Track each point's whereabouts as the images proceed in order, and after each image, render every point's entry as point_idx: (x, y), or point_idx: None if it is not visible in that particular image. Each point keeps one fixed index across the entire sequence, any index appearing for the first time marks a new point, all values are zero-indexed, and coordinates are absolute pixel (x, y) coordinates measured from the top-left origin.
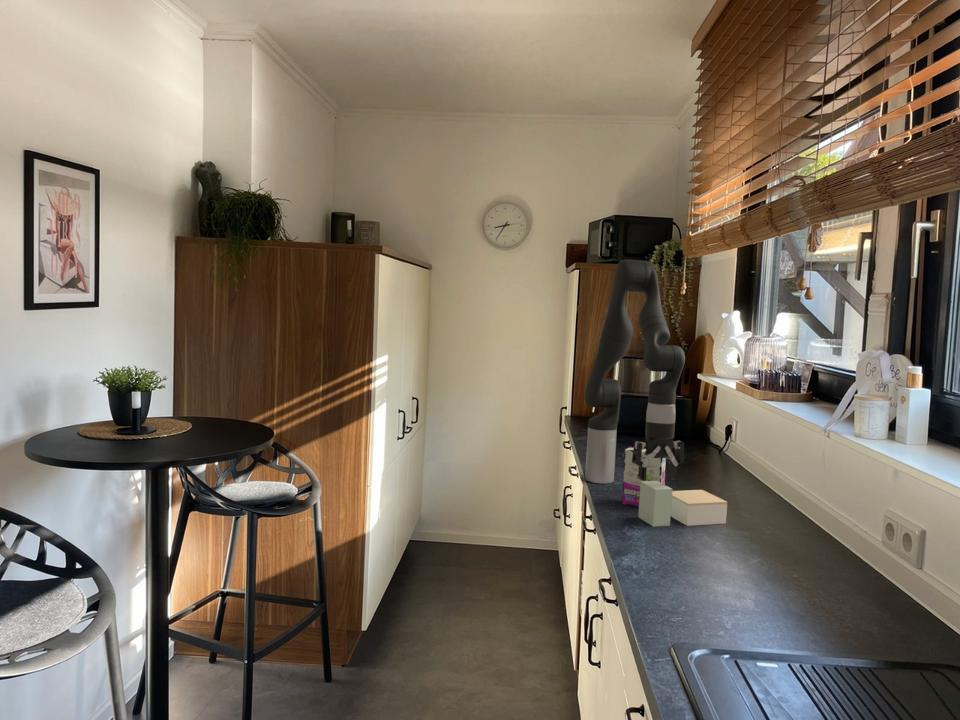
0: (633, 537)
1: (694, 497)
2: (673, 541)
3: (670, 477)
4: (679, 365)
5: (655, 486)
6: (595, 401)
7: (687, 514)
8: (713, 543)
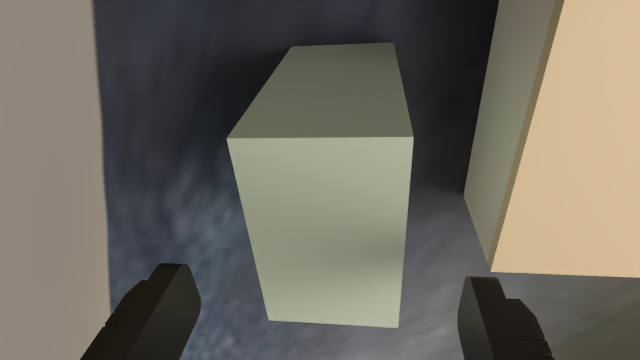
0: (190, 255)
1: None
2: None
3: (463, 316)
4: None
5: (301, 272)
6: None
7: (475, 227)
8: (425, 330)
